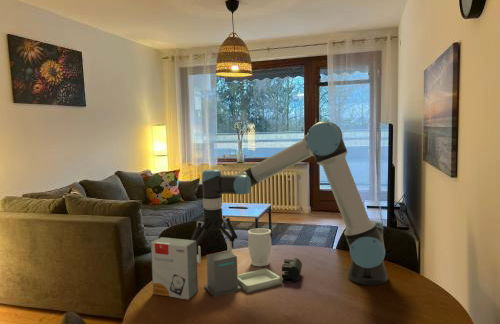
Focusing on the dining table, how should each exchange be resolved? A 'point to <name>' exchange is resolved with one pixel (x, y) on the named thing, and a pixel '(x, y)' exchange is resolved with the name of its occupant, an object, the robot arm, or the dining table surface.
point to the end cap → (291, 270)
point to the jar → (259, 246)
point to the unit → (222, 273)
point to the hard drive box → (174, 267)
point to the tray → (258, 280)
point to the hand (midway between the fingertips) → (214, 259)
